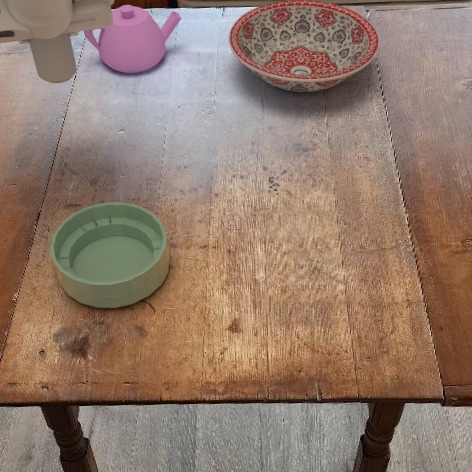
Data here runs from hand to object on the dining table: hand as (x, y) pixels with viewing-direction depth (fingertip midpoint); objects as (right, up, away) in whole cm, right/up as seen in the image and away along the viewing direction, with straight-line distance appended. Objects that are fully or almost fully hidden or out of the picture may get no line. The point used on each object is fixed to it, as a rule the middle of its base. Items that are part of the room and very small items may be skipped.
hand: (48, 34), depth 107 cm
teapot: (+9, +11, +35) cm, 38 cm away
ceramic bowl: (+43, +6, +31) cm, 53 cm away
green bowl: (+11, -37, -1) cm, 38 cm away
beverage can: (0, -5, +5) cm, 7 cm away
